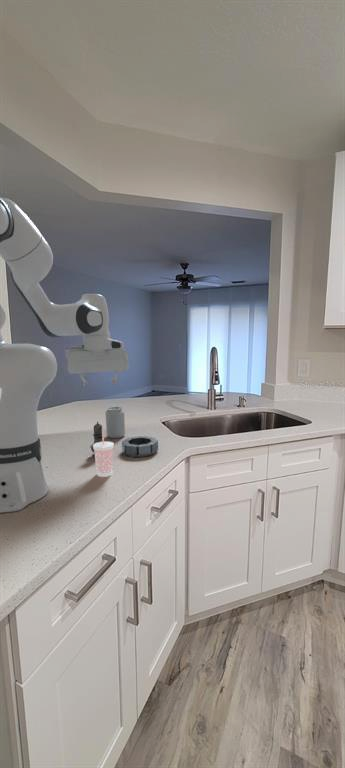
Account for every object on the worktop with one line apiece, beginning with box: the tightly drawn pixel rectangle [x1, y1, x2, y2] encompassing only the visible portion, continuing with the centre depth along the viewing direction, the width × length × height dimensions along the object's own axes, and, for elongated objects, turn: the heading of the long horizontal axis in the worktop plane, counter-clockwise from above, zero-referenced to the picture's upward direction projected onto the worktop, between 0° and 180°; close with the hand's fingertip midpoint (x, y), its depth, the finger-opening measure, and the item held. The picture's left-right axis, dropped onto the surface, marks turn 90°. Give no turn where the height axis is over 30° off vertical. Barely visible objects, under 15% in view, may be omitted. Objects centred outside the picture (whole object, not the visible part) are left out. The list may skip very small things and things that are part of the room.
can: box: [105, 406, 126, 439], centre depth 139 cm, size 8×8×12 cm
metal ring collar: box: [121, 435, 159, 458], centre depth 120 cm, size 12×12×4 cm
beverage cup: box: [93, 427, 115, 478], centre depth 100 cm, size 6×6×14 cm
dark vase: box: [89, 421, 103, 459], centre depth 116 cm, size 6×6×12 cm
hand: (100, 385), depth 115 cm, fingers open, 8 cm apart
